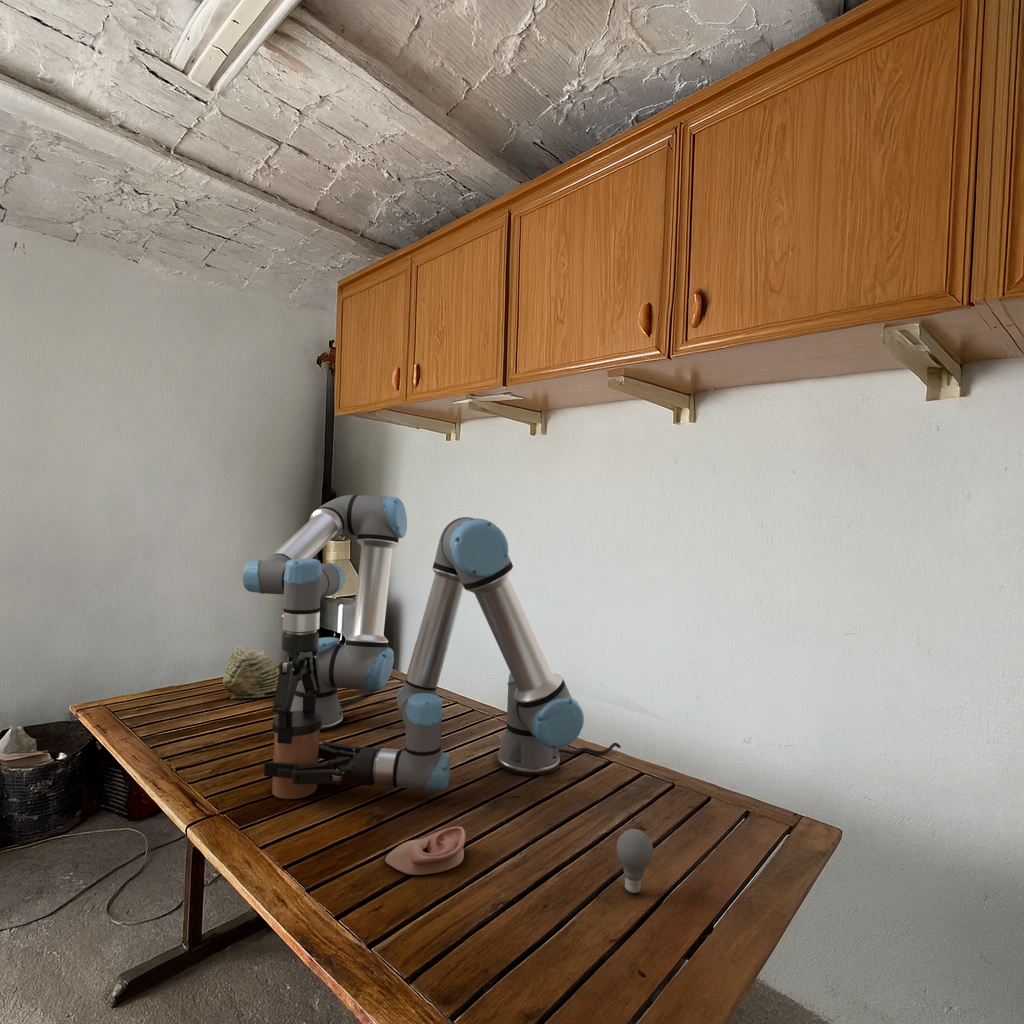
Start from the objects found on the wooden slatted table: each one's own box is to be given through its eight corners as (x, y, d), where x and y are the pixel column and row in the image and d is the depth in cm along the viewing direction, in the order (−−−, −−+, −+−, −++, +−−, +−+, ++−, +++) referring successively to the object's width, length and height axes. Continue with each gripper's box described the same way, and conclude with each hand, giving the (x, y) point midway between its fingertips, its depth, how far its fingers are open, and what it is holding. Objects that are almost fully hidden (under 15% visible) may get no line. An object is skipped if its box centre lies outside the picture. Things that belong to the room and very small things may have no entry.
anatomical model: (378, 846, 108) (403, 814, 120) (377, 869, 108) (402, 835, 120) (453, 858, 106) (471, 824, 117) (452, 882, 106) (470, 846, 117)
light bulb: (610, 879, 108) (613, 822, 108) (644, 879, 109) (647, 822, 109) (619, 902, 102) (622, 840, 102) (655, 901, 103) (658, 840, 103)
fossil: (218, 695, 195) (220, 647, 195) (278, 685, 208) (279, 640, 207) (228, 703, 189) (230, 653, 188) (289, 692, 201) (290, 645, 201)
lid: (285, 739, 129) (285, 730, 129) (264, 725, 137) (264, 716, 137) (330, 728, 137) (330, 719, 136) (308, 715, 144) (308, 707, 144)
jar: (283, 803, 130) (286, 731, 130) (264, 787, 137) (267, 719, 137) (325, 790, 137) (327, 721, 136) (305, 775, 143) (307, 710, 143)
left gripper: (307, 620, 148) (304, 713, 148) (256, 641, 125) (252, 752, 126) (338, 622, 147) (334, 716, 148) (292, 644, 124) (288, 755, 125)
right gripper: (360, 809, 124) (250, 799, 126) (390, 763, 146) (296, 755, 148) (361, 771, 124) (251, 762, 126) (392, 730, 146) (297, 723, 148)
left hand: (296, 732), depth 137 cm, fingers open, 11 cm apart
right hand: (276, 758), depth 137 cm, fingers closed on jar, 9 cm apart
